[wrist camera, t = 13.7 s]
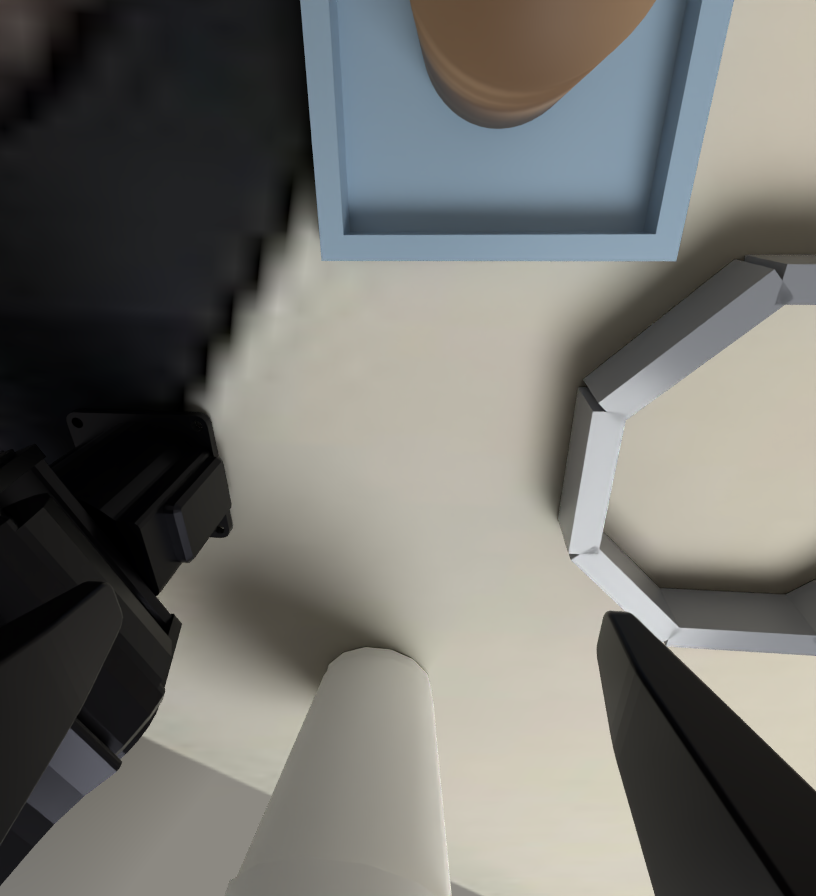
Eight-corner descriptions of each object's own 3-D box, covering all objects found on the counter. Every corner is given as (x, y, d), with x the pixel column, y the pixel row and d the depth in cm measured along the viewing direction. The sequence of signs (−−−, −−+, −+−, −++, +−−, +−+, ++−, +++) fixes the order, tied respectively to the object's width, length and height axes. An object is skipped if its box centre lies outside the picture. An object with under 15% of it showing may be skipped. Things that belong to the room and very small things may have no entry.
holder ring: (545, 600, 25) (553, 639, 23) (598, 254, 18) (618, 263, 16) (894, 619, 24) (938, 663, 22) (1108, 254, 17) (1208, 265, 14)
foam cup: (314, 608, 27) (209, 919, 16) (479, 650, 28) (495, 984, 16) (289, 715, 32) (193, 1018, 20) (431, 750, 32) (417, 1067, 20)
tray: (333, 254, 19) (321, 260, 17) (295, -267, 13) (272, -331, 11) (656, 254, 18) (676, 261, 16) (770, -307, 12) (818, -384, 10)
